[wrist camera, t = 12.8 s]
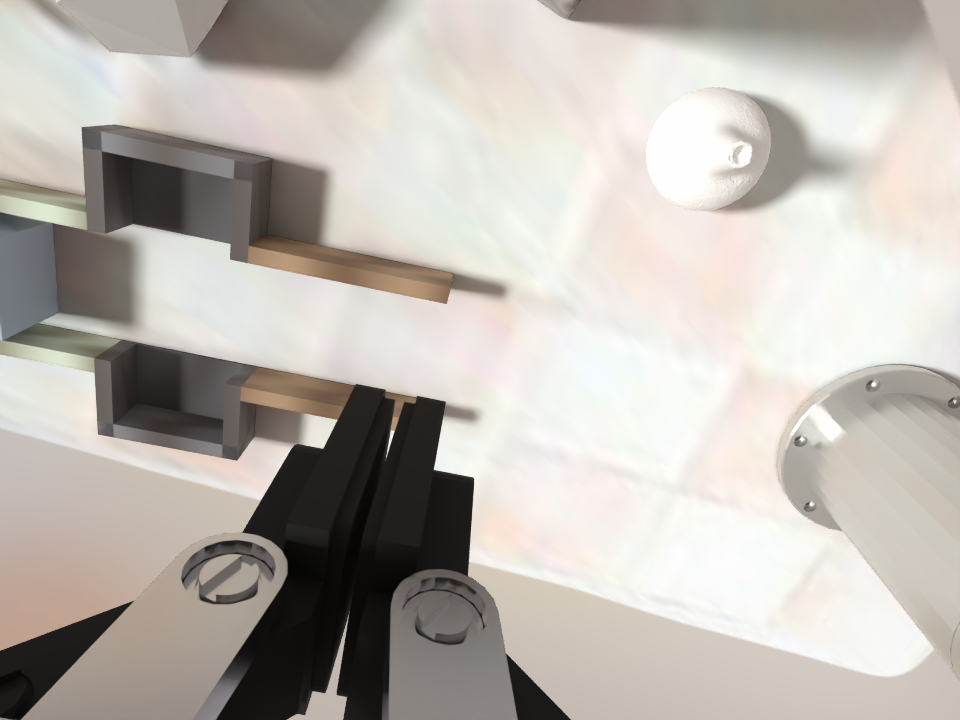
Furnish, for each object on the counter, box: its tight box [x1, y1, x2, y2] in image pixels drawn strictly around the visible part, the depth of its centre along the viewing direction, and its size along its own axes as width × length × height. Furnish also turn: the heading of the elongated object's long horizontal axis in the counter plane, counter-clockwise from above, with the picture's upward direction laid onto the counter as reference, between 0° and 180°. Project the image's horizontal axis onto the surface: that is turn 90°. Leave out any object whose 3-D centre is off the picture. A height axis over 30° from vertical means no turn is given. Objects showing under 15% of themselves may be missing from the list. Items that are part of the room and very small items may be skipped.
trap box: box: [0, 125, 453, 460], centre depth 37 cm, size 33×19×5 cm, turn 78°
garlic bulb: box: [646, 87, 771, 211], centre depth 31 cm, size 6×6×8 cm
